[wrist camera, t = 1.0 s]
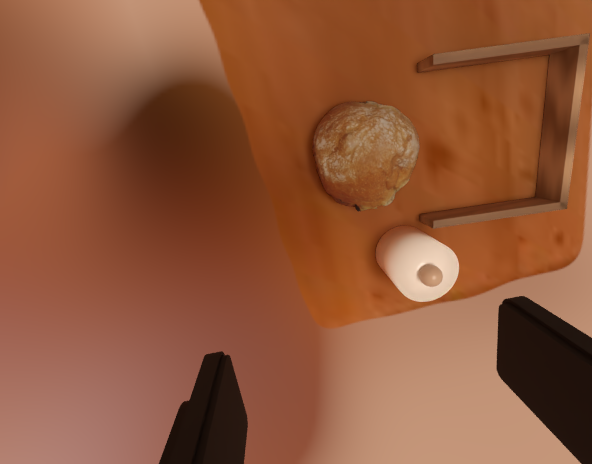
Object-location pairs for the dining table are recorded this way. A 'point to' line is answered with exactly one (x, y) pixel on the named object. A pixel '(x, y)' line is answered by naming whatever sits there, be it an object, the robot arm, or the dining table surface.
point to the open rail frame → (555, 131)
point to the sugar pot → (417, 263)
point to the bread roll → (365, 153)
